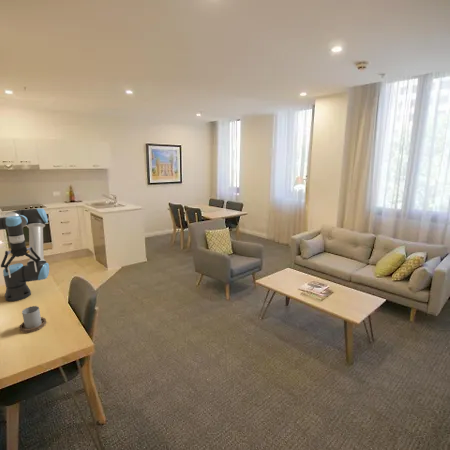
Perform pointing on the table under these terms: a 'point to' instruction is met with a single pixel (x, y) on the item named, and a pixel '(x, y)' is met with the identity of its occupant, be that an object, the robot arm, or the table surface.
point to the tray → (23, 329)
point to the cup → (31, 317)
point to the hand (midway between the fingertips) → (23, 274)
